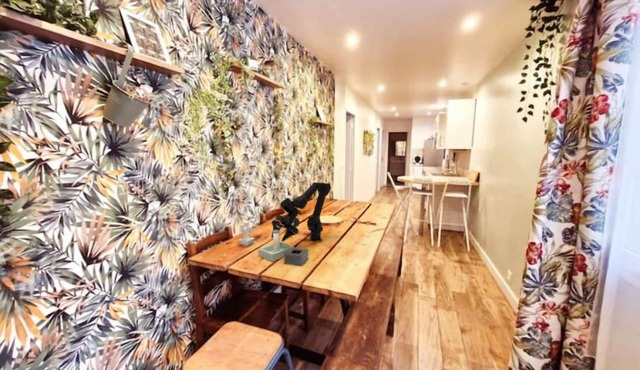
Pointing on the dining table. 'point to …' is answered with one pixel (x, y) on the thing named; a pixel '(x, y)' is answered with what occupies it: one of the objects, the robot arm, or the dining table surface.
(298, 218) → the pneumatic valve
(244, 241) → the figurine
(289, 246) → the tray
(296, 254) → the block
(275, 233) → the beige capped cylinder
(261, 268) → the dining table surface
